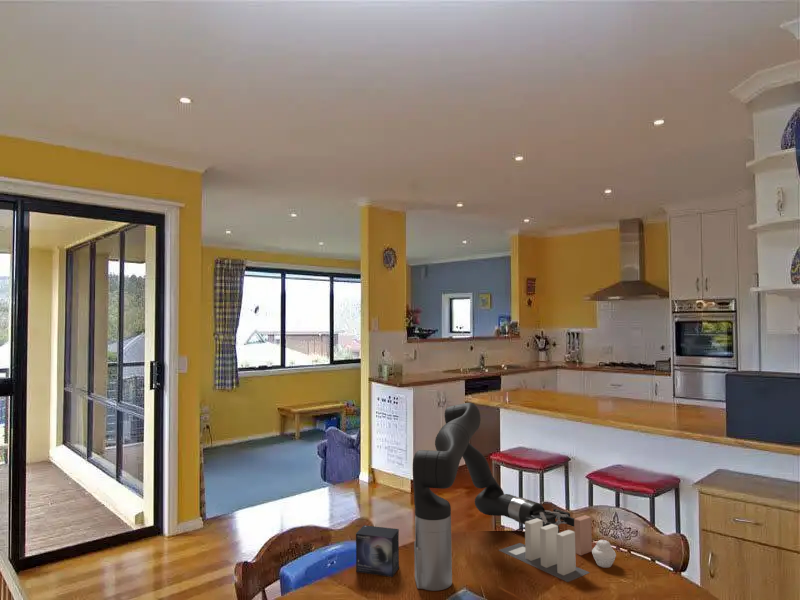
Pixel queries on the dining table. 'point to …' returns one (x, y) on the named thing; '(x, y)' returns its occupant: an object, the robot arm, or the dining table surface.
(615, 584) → the dining table surface
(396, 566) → the small box
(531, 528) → the ivory domino
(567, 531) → the ivory domino
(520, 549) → the domino mat
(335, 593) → the dining table surface
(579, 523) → the terracotta domino
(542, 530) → the ivory domino
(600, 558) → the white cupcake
